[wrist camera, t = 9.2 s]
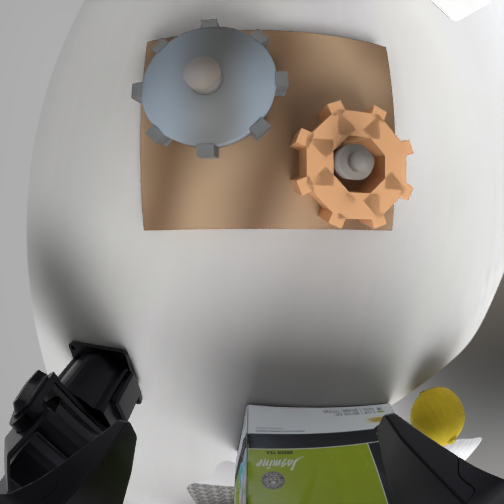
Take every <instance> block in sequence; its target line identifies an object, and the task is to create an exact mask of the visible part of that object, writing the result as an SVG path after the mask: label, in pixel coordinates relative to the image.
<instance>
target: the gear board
mask: <svg viewBox="0 0 504 504" xmlns="http://www.w3.org/2000/svg"><path fill="white" fill-rule="evenodd" d="M131 98H132V99H134V100H136V101H138V102H140V103H141V104H142V106H141V136H140V164H141V195H142V212H143V226H144V230H182V229H341V228H339V227H336V226H334V225H332V224H330V223H328V222H326V221H325V220H323V219H322V218H320V217H319V216H318V215H319V213H320V210H321V208H322V207H321V206H320V205H319V204H318V203H317V202H316V201H315V200H314V198H313V197H312V196H311V195H310V194H309V193H307V194H305V195H300V194H298V193H295V190H294V188H293V185H292V183H291V181H290V180H291V179H294V178H296V177H299V150H296V149H294V148H292V147H290V145H291V143H292V140H293V138H294V135H295V134H296V133H297V132H298V131H299V130H300V129H301V128H303V129H305V130H307V131H310V132H311V131H312V130H314V129H315V128H316V127H317V126H318V125H319V124H320V123H321V121H320V118H319V116H318V113H319V112H320V111H321V110H322V109H323V108H324V107H325V106H326V105H327V104H330V103H333V102H336V101H340V100H341V102H342V104H343V106H344V108H345V110H349V111H357V112H363V111H365V110H366V109H368V108H370V107H372V106H374V105H375V106H377V107H379V108H380V109H382V110H384V111H385V112H387V113H386V116H385V119H384V121H385V123H386V124H387V125H388V126H389V127H390V129H391V130H392V131H393V132H394V134H395V125H394V109H393V97H392V87H391V78H390V71H389V63H388V57H387V51H386V47H384V46H380V45H376V44H372V43H368V42H363V41H358V40H353V39H348V38H342V37H336V36H330V35H322V34H314V33H305V32H293V31H273V30H258V29H257V30H236V29H232V28H227V27H219V25H218V21H217V19H210V20H201V28H199V29H195V30H192V31H189V32H186V33H184V34H182V35H180V36H176V37H170V38H165V39H163V38H161V39H159V40H154V41H150V42H147V48H146V57H145V66H144V77H143V81H142V82H139V83H135V84H132V96H131ZM333 162H334V176H335V177H336V178H337V179H338V180H339V181H340V182H341V183H342V185H343V186H344V187H345V188H346V189H347V190H356V189H357V188H358V187H359V186H360V185H361V184H362V183H363V182H364V181H365V180H366V179H367V178H368V176H369V174H370V173H371V171H372V169H373V166H374V158H373V156H372V154H371V153H370V152H369V150H368V149H367V148H365V147H364V146H362V145H359V144H356V143H355V142H346V141H343V142H342V143H341V144H340V145H339V146H338V147H337V148H336V149H335V150H334V151H333ZM393 213H394V204H393V205H392V206H391V207H390V208H389V209H388V210H387V211H386V212H385V214H384V216H385V220H386V224H385V225H383V226H381V227H378V228H376V229H373V228H371V227H369V226H367V225H365V224H363V223H361V222H359V219H345V222H344V224H343V226H342V229H353V230H392V225H393Z"/></svg>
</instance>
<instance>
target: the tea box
mask: <svg viewBox="0 0 504 504" xmlns="http://www.w3.org/2000/svg"><path fill="white" fill-rule="evenodd" d="M390 413H394V411H393V409H392V407H391V405H390V404H389V403H388V404H379V405H369V406H356V407H334V408H293V407H271V406H257V405H247V407H246V412H245V417H244V424H243V430H242V435H241V440H240V444H239V448H238V452H237V453H238V454H237V459H236V473H235V495H234V504H396V501H395V498H394V495H393V492H392V488H391V485H390V482H389V479H388V476H387V473H386V470H385V467H384V463H383V459H382V454H381V449H380V444H379V440H378V435H377V428H378V426H379V424H380V421H381V419H382V417H383V416H384V415H386V414H390Z"/></svg>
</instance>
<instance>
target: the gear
mask: <svg viewBox="0 0 504 504" xmlns="http://www.w3.org/2000/svg"><path fill="white" fill-rule="evenodd" d="M386 113H387V112H385V111H384V110H382V109H380V108H379V107H377V106H375V105H374V106H372V107H370V108H368V109H366V110H365V111H363V112H357V111H349V110H345V108H344V106H343V104H342V102H341V100H340V101H336V102H333V103H330V104H327V105H326V106H325V107H324V108H323V109H322V110H321V111H320V112H319V113H318V116H319V118H320V121H321V123H320V124H319V125H318V126H317V127H316V128H315V129H314V130H312V131H311V132H310V131H307V130H305V129H303V128H301V129H300V130H299V131H298V132H297V133H296V134H295V135H294V138H293V140H292V143H291V145H290V147H292V148H294V149H296V150H299V177H296V178H294V179H291V180H290V181H291V183H292V185H293V188H294V190H295V193H298V194H300V195H305V194H307V193H309V194H310V195H311V196H312V197H313V198H314V200H315V201H316V202H317V203H318V204H319V205H320V206H321V207H322V208H321V210H320V213H319V215H318V216H319V217H320V218H322V219H323V220H325V221H326V222H328V223H330V224H332V225H334V226H336V227H339V228H341V229H342V226H343V224H344V222H345V219H359V222H361V223H363V224H365V225H367V226H369V227H371V228H373V229H376V228H378V227H381V226H383V225H385V224H386V220H385V216H384V214H385V212H386V211H387V210H388V209H389V208H390V207H391V206H392V205H393V204H394V203H395V202H396V201H397V200H398V199H399V198H401V199H406V200H409V198H410V195H411V192H412V190H413V187H412V186H410V185H409V184H407V183H406V156H407V155H410V154H413V150H412V147H411V144H410V142H409V140H405V141H400V140H399V139H398V137H397V136H396V135H395V134H394V132H393V131H392V130H391V129H390V127H389V126H388V125H387V124H386V123H385V121H384V119H385V116H386ZM343 141H346V142H355V143H356V144H359V145H362V146H364V147H365V148H367V149H368V150H369V152H370V153H371V154H372V156H373V158H374V166H373V169H372V171H371V173H370V174H369V176H368V178H367V179H366V180H365V181H364V182H363V183H362V184H361V185H360V186H359V187H358V188H357V189H356V190H347V189H346V188H345V187H344V186H343V185H342V183H341V182H340V181H339V180H338V179H337V178H336V177H335V176H334V162H333V151H334V150H335V149H336V148H337V147H338V146H339V145H340V144H341V143H342V142H343Z"/></svg>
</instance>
